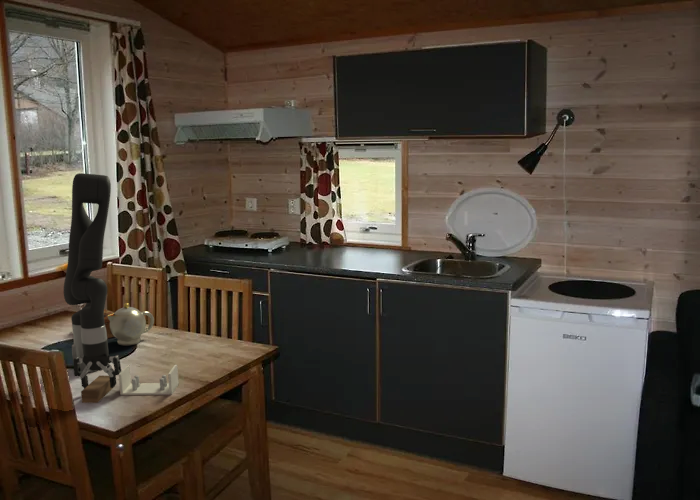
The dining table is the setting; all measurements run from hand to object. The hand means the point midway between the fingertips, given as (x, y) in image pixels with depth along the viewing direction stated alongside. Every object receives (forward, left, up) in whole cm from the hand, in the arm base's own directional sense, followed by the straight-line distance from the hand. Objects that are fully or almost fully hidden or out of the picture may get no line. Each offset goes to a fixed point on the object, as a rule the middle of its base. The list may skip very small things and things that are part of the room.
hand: (99, 387), depth 205 cm
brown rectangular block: (0, 0, -3) cm, 3 cm away
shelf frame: (+15, +3, -2) cm, 16 cm away
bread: (-23, +63, -3) cm, 67 cm away
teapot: (-6, +51, -2) cm, 51 cm away
